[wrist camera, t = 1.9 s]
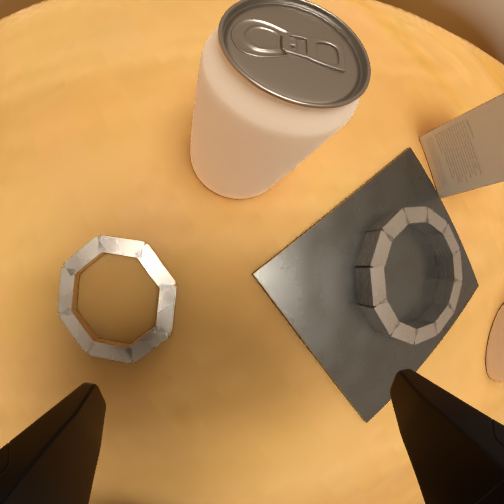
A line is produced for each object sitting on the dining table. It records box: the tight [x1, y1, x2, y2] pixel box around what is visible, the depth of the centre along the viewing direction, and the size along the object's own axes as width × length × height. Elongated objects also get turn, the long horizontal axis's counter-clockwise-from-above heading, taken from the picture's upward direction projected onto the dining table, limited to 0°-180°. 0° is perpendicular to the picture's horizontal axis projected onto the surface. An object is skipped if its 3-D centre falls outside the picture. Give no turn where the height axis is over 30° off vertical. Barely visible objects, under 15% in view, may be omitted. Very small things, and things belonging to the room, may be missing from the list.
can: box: [190, 0, 371, 199], centre depth 14 cm, size 6×6×12 cm
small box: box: [419, 93, 504, 198], centre depth 19 cm, size 8×6×13 cm
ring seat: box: [253, 147, 479, 423], centre depth 21 cm, size 18×16×2 cm
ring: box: [58, 235, 177, 364], centre depth 17 cm, size 8×8×1 cm
